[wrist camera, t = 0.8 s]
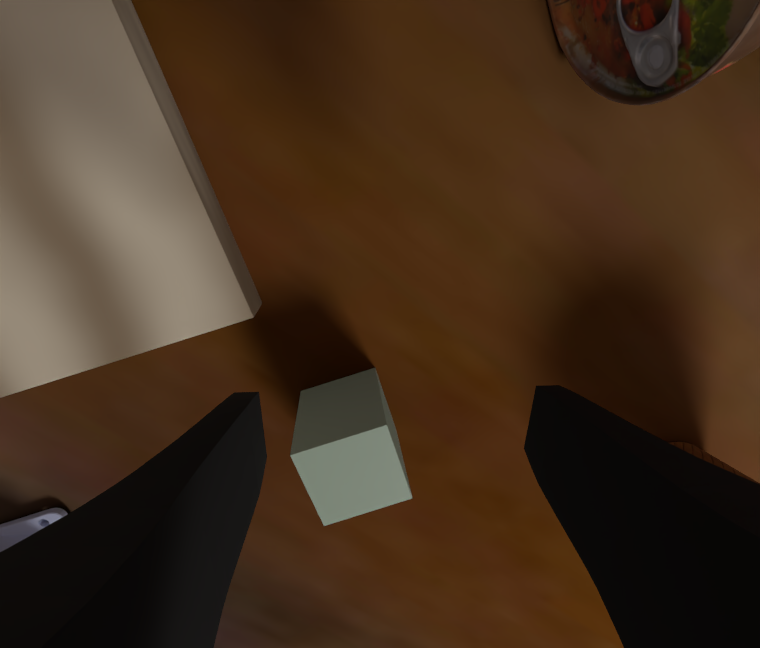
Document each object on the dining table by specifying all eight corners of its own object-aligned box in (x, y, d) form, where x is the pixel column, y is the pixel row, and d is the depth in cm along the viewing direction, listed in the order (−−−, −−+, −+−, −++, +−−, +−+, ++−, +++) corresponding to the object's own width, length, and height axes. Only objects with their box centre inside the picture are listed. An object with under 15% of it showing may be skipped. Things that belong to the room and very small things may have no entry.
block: (326, 450, 21) (324, 525, 17) (300, 390, 20) (290, 455, 15) (395, 428, 21) (412, 498, 17) (374, 367, 20) (386, 425, 15)
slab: (25, 375, 19) (-19, 403, 16) (-176, 100, 14) (-277, 85, 12) (264, 300, 18) (253, 317, 16) (135, 0, 14) (95, -35, 12)
